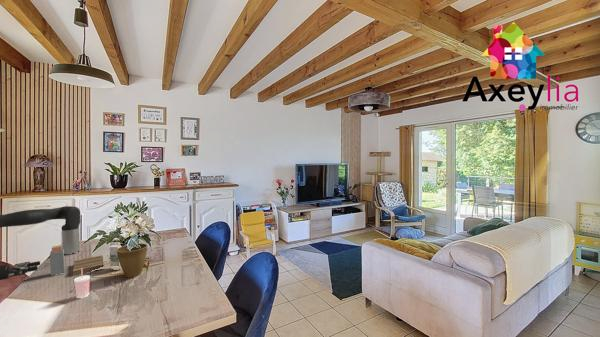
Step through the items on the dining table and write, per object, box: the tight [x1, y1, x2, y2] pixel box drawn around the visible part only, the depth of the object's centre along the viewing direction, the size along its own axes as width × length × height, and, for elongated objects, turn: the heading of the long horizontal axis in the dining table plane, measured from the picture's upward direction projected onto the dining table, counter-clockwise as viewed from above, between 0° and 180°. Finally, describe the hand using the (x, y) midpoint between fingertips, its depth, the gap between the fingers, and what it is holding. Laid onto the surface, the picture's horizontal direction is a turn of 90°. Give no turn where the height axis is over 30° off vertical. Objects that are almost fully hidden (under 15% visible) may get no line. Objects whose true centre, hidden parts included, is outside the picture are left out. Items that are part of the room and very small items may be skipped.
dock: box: [72, 254, 105, 276], centre depth 161 cm, size 20×14×3 cm
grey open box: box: [49, 248, 66, 276], centre depth 152 cm, size 6×6×13 cm
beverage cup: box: [73, 268, 91, 299], centre depth 126 cm, size 6×6×14 cm
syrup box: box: [109, 243, 122, 267], centre depth 158 cm, size 6×6×14 cm
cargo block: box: [51, 244, 63, 253], centre depth 151 cm, size 4×4×4 cm
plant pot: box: [117, 243, 148, 279], centre depth 149 cm, size 15×15×16 cm
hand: (38, 265), depth 147 cm, fingers open, 8 cm apart
